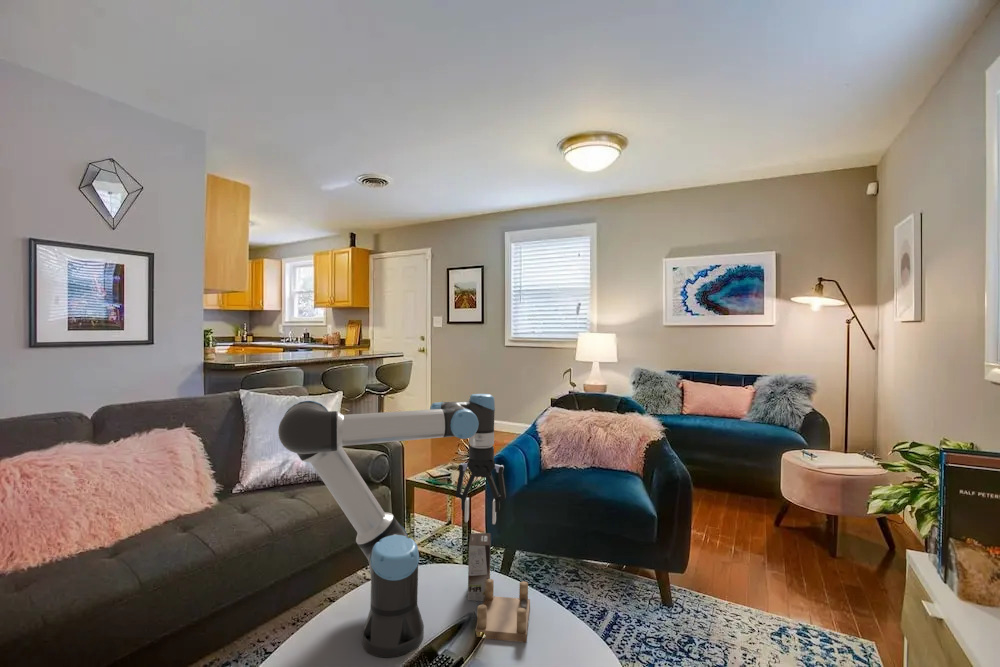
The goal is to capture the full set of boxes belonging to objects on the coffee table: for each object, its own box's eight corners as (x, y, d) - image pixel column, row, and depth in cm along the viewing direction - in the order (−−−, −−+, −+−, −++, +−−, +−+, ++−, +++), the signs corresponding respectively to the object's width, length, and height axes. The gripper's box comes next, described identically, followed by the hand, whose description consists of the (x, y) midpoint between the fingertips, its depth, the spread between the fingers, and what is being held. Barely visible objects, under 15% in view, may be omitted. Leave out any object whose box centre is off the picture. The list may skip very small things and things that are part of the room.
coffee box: (489, 601, 134) (490, 545, 134) (467, 601, 134) (468, 544, 134) (490, 585, 143) (491, 532, 143) (469, 584, 143) (470, 532, 143)
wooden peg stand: (475, 637, 117) (475, 609, 117) (484, 602, 133) (485, 578, 133) (526, 642, 116) (526, 614, 116) (529, 606, 131) (530, 581, 132)
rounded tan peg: (527, 607, 126) (528, 591, 126) (519, 607, 127) (519, 590, 127) (527, 597, 131) (528, 581, 131) (519, 597, 132) (519, 581, 132)
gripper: (445, 446, 137) (444, 524, 136) (514, 449, 134) (513, 528, 134) (451, 441, 144) (449, 514, 144) (516, 444, 142) (515, 519, 141)
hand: (480, 521), depth 139 cm, fingers open, 8 cm apart
